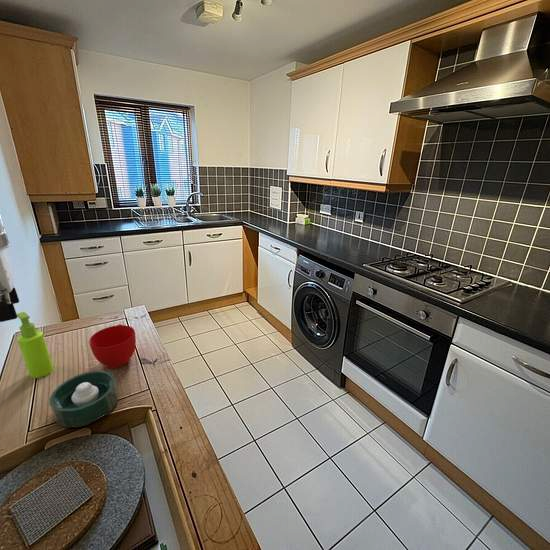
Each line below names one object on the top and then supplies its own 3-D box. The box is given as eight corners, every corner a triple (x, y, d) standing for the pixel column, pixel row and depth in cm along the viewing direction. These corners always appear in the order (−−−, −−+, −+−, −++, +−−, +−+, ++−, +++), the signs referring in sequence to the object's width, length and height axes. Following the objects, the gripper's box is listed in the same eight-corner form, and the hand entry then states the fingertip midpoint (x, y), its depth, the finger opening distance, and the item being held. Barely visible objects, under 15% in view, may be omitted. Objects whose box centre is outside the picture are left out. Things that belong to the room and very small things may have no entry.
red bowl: (143, 341, 108) (139, 317, 104) (136, 370, 92) (131, 344, 89) (104, 346, 104) (98, 322, 100) (90, 377, 89) (83, 350, 85)
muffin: (103, 394, 82) (98, 374, 80) (98, 410, 77) (92, 389, 74) (78, 398, 80) (72, 378, 78) (71, 416, 75) (64, 395, 72)
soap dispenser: (48, 361, 95) (30, 307, 88) (56, 370, 92) (39, 314, 85) (25, 371, 91) (5, 315, 84) (34, 380, 87) (13, 322, 80)
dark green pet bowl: (57, 440, 69) (50, 421, 67) (54, 402, 80) (48, 384, 78) (123, 411, 77) (120, 393, 75) (113, 380, 88) (109, 364, 86)
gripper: (-32, 236, 67) (-8, 302, 74) (-48, 254, 55) (-17, 332, 61) (10, 232, 72) (30, 295, 78) (5, 248, 59) (29, 322, 65)
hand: (10, 311), depth 69 cm, fingers open, 9 cm apart
